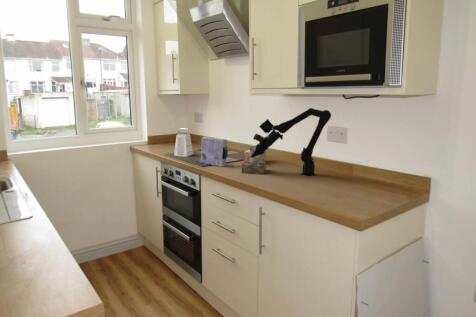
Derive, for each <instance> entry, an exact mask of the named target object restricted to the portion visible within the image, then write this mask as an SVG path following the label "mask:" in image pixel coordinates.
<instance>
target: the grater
mask: <svg viewBox="0 0 476 317" xmlns="http://www.w3.org/2000/svg"><path fill="white" fill-rule="evenodd" d="M181 130H186V133H181ZM192 155H194V153H193V146H192V139H191V134H190V129H189V128H184V127H183V128H181V127H180V128H178V129H177V134H176V137H175V145H174V153H173V156H175V157H184V158H185V157H189V156H192Z"/></svg>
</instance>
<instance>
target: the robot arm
mask: <svg viewBox="0 0 476 317" xmlns="http://www.w3.org/2000/svg"><path fill="white" fill-rule="evenodd" d="M311 116H313V117H317V118H319V119H318V123H317V125H316V127H315V129H314V131H313V133H312V136H311V137H310V140H309V142H308V144H307V146H306V147H302V151H301V152H300V160H301V161H302V162H303V164H302V172H301V173H300V174H301V175H304V176H308V177H310V176H316V175H317V173H315V172H316V171H315V170H316V169H315V168H316V165H315V159H314V158H313V157H312V156H313V152H314V149H315V146H316V144H317V142H318V140H319V138H320V135H321V134H322V131H323V129H324V127H325V126H326V124H327V123H328V122H329V121H330V119H331V117H332V113H331V111H329V110H328V109H324V110H321V109H317V108H316V109H315V108H314V107H313V108H312V107H310V108H308V109H306V110H305V111H303V112H302V113H300V114H298V115H297V116H294V117H293V118H292V119H289V120H286V121H283V122H281V123H279V124H275V125H274V124H273V123H272V122H271V120H270V119H269V118H268V119H266V120H265V121H264V122H262V123H260V125H259V126H258V128H260V129H261V130H262V132H264V134H267V136H262V135H260V134H259V133H255V134H254V136H253V140H254V141H257V142H259V144H258V143H257V144H258V145H256V146H255V148H256V150H255V151H254V153H253V154H252V156H251V157H252V158H253V157H255V156H258V155H261V154H264V153H265V150H266V151H267V150H268V149H269V148H270V147H271V146H272V145H274V143H276V142H277V140H278V139H280V140H283V138H284V134H285V133H286V132H288V131H289V130H290V129H291V128H292V127H294V125H297V124H299V123H300V122H302V121H303V120H305V119H307V118H308V117H311Z"/></svg>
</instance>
